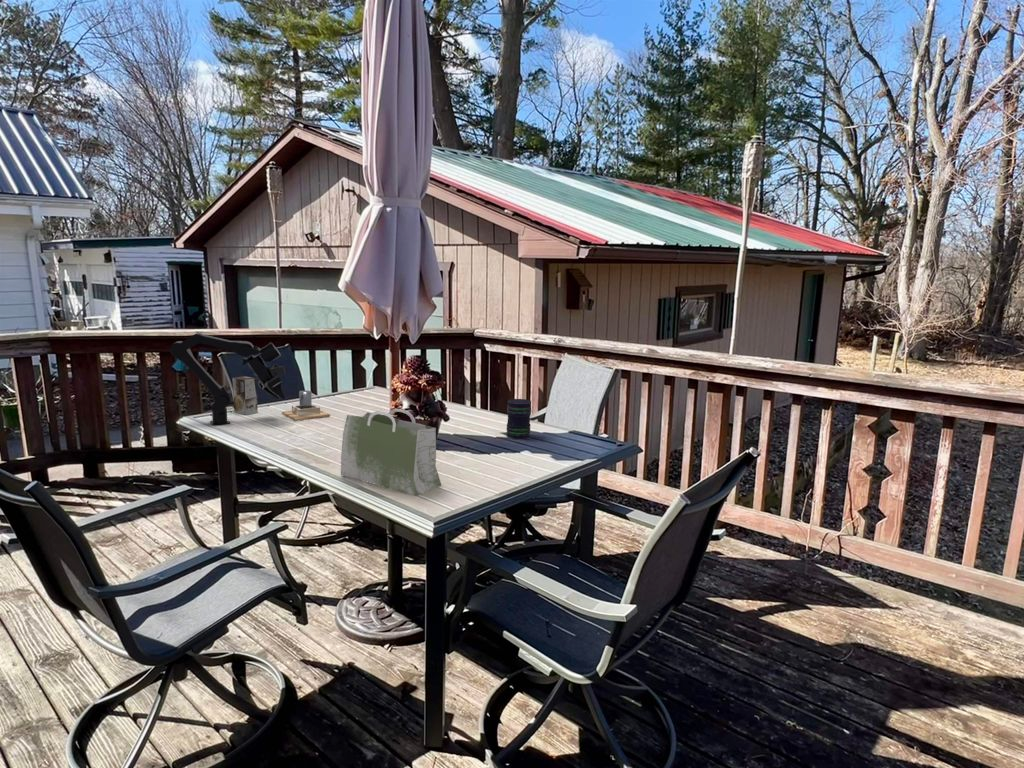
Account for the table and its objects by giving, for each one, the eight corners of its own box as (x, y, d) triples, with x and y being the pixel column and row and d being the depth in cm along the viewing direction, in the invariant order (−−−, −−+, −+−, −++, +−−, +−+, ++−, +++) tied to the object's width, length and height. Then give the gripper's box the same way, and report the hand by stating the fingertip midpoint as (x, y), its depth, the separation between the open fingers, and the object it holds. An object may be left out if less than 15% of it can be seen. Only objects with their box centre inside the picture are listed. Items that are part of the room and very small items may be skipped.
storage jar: (502, 437, 258) (503, 401, 256) (512, 432, 267) (513, 397, 264) (524, 440, 254) (525, 404, 251) (533, 435, 263) (535, 400, 260)
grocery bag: (444, 484, 199) (445, 412, 195) (416, 496, 187) (416, 420, 183) (368, 466, 215) (367, 399, 211) (338, 476, 203) (337, 406, 199)
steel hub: (297, 413, 283) (296, 392, 281) (304, 411, 287) (303, 390, 286) (307, 414, 281) (306, 393, 279) (314, 412, 286) (313, 391, 284)
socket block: (282, 414, 286) (281, 405, 285) (316, 410, 296) (316, 401, 295) (295, 421, 273) (294, 412, 273) (330, 416, 283) (330, 408, 283)
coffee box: (258, 412, 286) (257, 377, 284) (245, 415, 281) (244, 379, 278) (246, 410, 291) (244, 375, 288) (233, 412, 286) (231, 377, 283)
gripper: (281, 357, 262) (302, 388, 267) (270, 358, 278) (291, 387, 283) (258, 371, 257) (280, 403, 262) (248, 372, 273) (269, 402, 278)
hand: (280, 398), depth 271 cm, fingers open, 9 cm apart
